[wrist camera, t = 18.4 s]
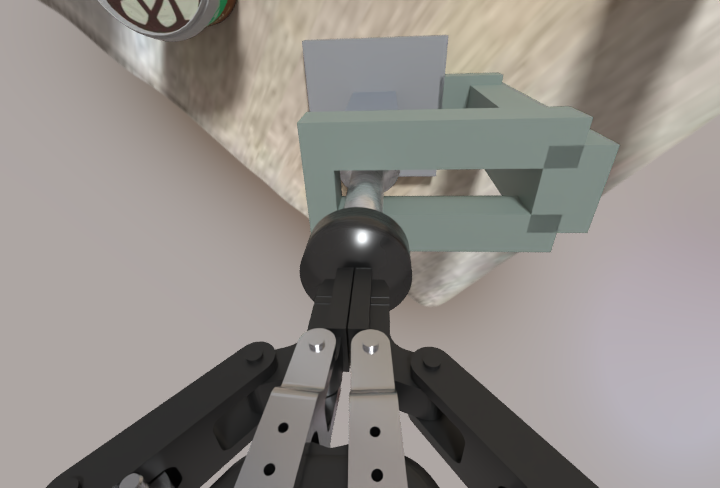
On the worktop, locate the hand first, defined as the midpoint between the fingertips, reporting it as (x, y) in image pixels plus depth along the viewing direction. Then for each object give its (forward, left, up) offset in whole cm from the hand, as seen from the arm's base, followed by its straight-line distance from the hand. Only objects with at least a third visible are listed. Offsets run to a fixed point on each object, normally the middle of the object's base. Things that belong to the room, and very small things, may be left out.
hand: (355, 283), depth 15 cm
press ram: (0, 0, -16) cm, 16 cm away
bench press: (-3, 0, -34) cm, 35 cm away
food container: (+18, -12, -35) cm, 41 cm away
